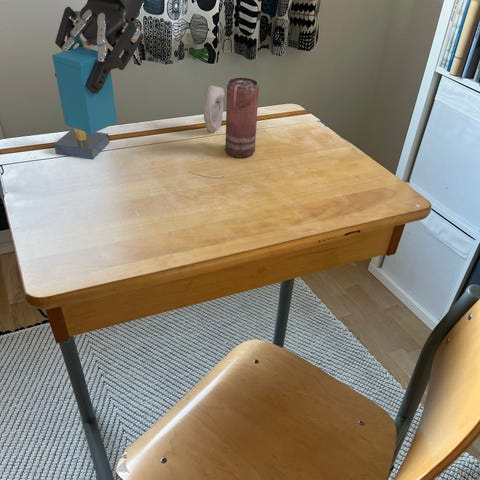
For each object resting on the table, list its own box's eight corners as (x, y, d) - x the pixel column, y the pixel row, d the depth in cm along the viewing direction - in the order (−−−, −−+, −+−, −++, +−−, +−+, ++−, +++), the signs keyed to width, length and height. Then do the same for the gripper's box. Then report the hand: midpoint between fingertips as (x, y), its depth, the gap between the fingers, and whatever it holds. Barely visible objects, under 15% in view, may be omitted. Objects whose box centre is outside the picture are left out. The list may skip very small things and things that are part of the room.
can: (220, 156, 105) (222, 84, 95) (230, 144, 109) (233, 74, 100) (249, 161, 103) (253, 89, 94) (258, 149, 108) (262, 79, 98)
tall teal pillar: (91, 114, 83) (81, 46, 76) (117, 122, 81) (108, 53, 74) (64, 124, 79) (51, 54, 72) (91, 134, 77) (80, 63, 70)
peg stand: (55, 153, 102) (44, 102, 95) (73, 137, 108) (65, 88, 101) (93, 159, 101) (85, 108, 94) (109, 142, 107) (102, 93, 100)
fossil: (211, 139, 111) (211, 91, 104) (198, 134, 112) (197, 87, 105) (226, 130, 114) (227, 83, 107) (213, 126, 116) (213, 79, 109)
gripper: (70, -50, 73) (23, 59, 74) (148, -36, 68) (95, 82, 68) (102, -12, 80) (58, 88, 81) (174, 4, 75) (127, 110, 75)
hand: (76, 85), depth 75 cm, fingers closed on tall teal pillar, 5 cm apart
